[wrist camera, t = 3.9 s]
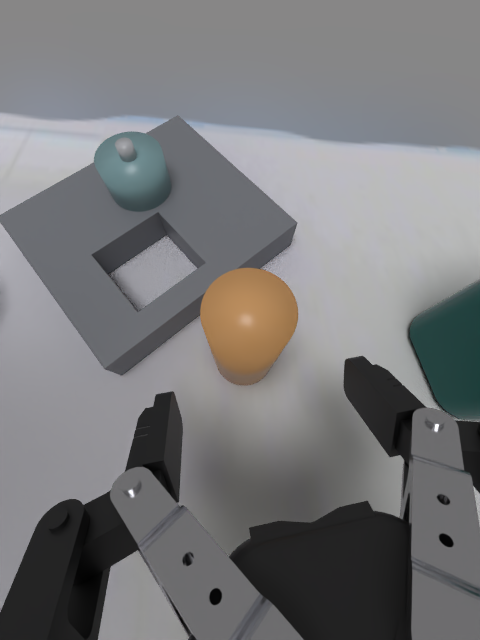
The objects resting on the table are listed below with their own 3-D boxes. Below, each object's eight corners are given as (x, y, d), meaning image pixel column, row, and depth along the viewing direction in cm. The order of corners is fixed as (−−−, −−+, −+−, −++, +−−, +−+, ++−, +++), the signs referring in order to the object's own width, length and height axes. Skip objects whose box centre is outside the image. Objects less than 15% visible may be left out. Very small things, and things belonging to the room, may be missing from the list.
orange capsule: (240, 397, 21) (244, 380, 12) (204, 354, 22) (180, 305, 13) (283, 359, 22) (318, 315, 13) (246, 319, 23) (253, 251, 14)
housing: (121, 375, 22) (70, 355, 15) (23, 239, 25) (-52, 176, 19) (290, 244, 26) (309, 183, 19) (183, 144, 29) (168, 65, 23)
